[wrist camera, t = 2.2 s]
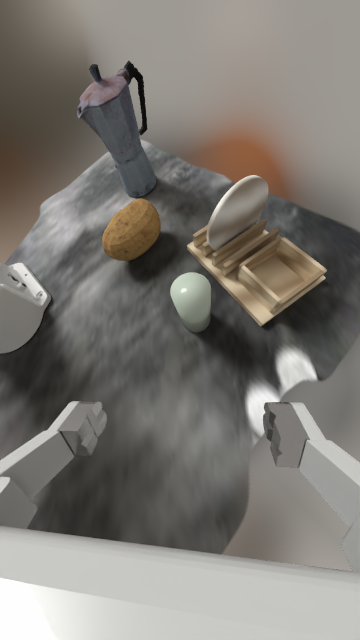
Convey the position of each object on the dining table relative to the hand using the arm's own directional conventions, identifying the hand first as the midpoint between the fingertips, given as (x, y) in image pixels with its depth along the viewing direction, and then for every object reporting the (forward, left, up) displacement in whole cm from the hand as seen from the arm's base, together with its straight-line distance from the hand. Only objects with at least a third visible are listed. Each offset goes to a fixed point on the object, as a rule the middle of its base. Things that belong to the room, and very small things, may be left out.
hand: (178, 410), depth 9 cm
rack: (-13, +22, -22) cm, 34 cm away
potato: (-32, +7, -22) cm, 40 cm away
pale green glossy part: (-10, +7, -22) cm, 25 cm away
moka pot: (-50, +18, -22) cm, 58 cm away
